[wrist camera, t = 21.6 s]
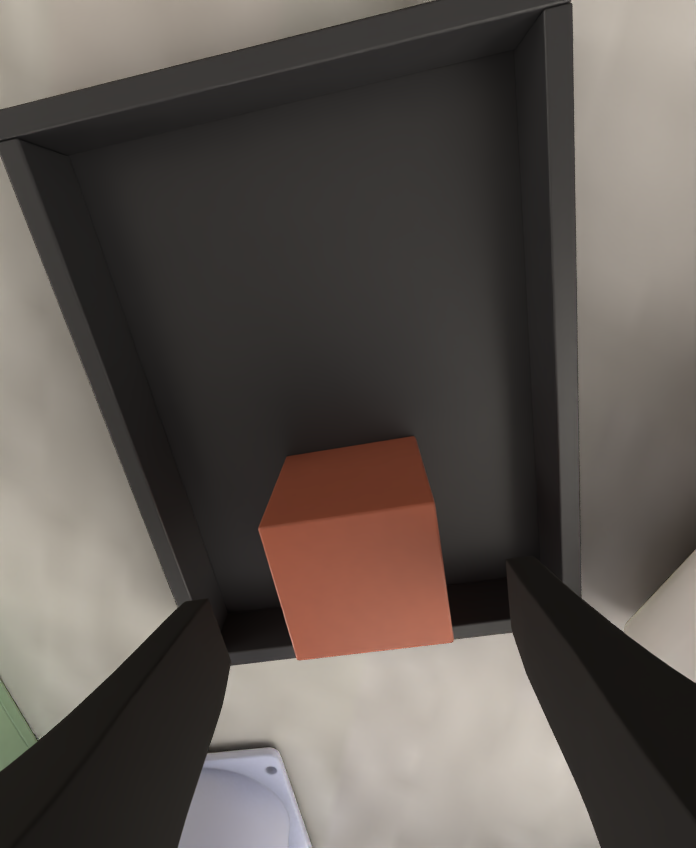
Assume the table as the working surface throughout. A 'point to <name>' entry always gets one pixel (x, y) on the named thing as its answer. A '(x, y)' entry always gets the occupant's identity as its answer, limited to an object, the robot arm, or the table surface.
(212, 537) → the pan
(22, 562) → the table surface
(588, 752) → the robot arm
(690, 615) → the mug
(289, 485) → the terracotta block
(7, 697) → the bin
